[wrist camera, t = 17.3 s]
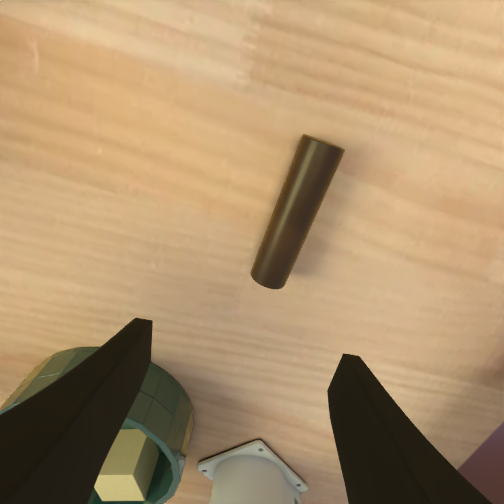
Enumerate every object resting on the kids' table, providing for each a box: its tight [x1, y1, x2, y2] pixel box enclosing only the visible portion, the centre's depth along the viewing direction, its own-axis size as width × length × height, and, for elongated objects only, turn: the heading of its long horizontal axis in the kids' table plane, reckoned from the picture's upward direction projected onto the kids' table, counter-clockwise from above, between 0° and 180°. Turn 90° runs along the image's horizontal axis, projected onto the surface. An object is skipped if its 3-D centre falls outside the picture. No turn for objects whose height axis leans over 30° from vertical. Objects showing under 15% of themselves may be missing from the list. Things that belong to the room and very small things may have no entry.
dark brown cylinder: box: [251, 134, 345, 289], centre depth 18 cm, size 2×2×9 cm
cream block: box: [94, 429, 159, 501], centre depth 28 cm, size 4×4×4 cm
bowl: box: [0, 347, 193, 504], centre depth 26 cm, size 15×15×5 cm
